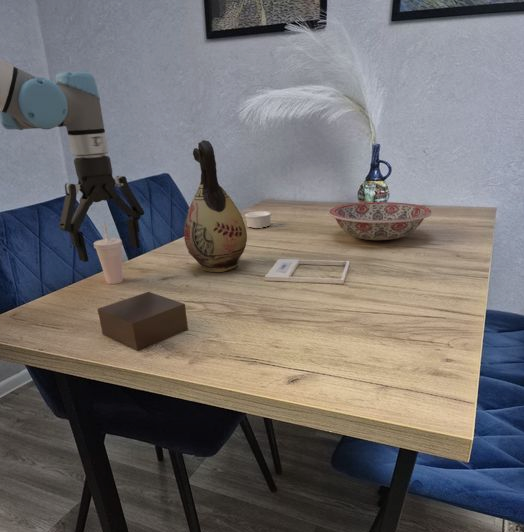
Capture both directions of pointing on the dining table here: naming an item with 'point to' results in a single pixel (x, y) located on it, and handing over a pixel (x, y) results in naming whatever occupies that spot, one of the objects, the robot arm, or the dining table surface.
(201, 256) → the ceramic jug
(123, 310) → the block
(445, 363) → the dining table surface
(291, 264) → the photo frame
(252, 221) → the ramekin
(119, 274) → the smoothie
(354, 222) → the ceramic bowl
